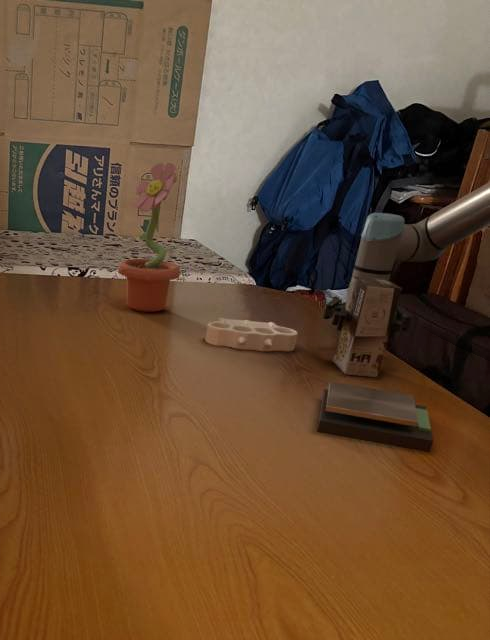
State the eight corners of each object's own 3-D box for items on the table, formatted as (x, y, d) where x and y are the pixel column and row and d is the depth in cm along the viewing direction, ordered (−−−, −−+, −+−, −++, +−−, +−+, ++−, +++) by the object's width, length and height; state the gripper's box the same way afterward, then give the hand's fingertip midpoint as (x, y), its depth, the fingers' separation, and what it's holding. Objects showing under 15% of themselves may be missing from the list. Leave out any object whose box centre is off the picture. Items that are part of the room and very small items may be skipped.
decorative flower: (101, 301, 179) (113, 156, 164) (151, 298, 185) (167, 159, 170) (134, 317, 167) (151, 164, 153) (186, 314, 174) (207, 167, 159)
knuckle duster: (284, 336, 163) (300, 356, 151) (200, 329, 163) (208, 349, 150) (288, 320, 162) (304, 339, 149) (202, 313, 161) (211, 331, 148)
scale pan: (411, 402, 123) (413, 395, 123) (415, 429, 112) (418, 421, 112) (328, 388, 126) (329, 381, 126) (324, 413, 115) (326, 405, 115)
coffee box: (378, 378, 142) (403, 288, 134) (344, 375, 142) (367, 284, 134) (364, 363, 150) (387, 277, 142) (331, 360, 150) (352, 274, 142)
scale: (422, 416, 125) (426, 403, 124) (429, 452, 112) (434, 437, 111) (322, 399, 129) (325, 386, 128) (317, 431, 115) (320, 417, 114)
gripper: (415, 328, 156) (422, 357, 137) (309, 313, 161) (302, 338, 142) (426, 290, 152) (435, 314, 133) (317, 275, 157) (311, 296, 138)
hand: (366, 326), depth 138 cm, fingers open, 8 cm apart
